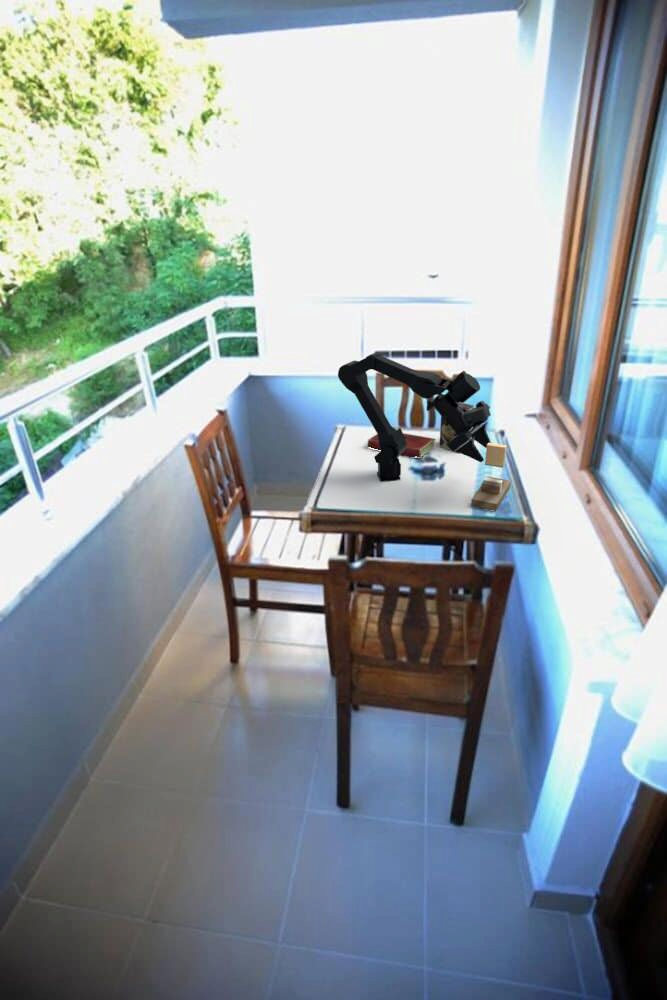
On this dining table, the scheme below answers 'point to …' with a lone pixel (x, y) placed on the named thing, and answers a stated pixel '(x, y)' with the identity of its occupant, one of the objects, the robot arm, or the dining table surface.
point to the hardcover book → (409, 445)
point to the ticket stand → (490, 493)
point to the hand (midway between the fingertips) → (487, 455)
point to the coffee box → (449, 430)
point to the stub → (495, 455)
